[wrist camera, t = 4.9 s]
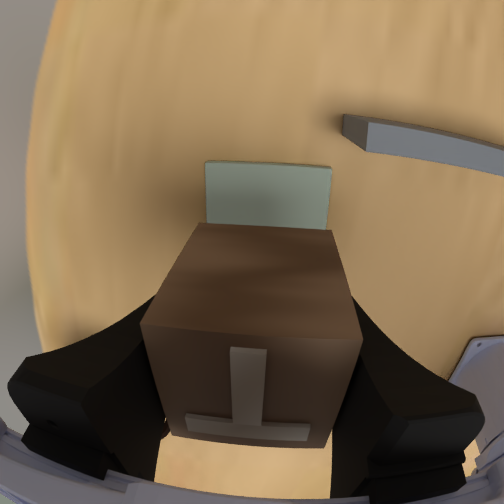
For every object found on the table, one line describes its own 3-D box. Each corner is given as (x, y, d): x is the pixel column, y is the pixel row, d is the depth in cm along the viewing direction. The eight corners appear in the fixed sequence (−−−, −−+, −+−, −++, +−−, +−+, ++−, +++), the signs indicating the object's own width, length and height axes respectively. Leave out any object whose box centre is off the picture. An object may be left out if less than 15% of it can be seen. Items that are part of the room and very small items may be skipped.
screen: (510, 148, 15) (562, 171, 10) (507, 165, 16) (558, 192, 11) (343, 114, 16) (368, 121, 11) (342, 134, 17) (366, 151, 12)
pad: (330, 166, 18) (332, 169, 17) (318, 274, 21) (319, 279, 20) (207, 160, 18) (205, 162, 18) (210, 267, 21) (208, 272, 21)
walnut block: (331, 230, 12) (364, 344, 7) (315, 332, 14) (324, 452, 9) (199, 222, 12) (137, 327, 7) (205, 324, 15) (170, 439, 9)
